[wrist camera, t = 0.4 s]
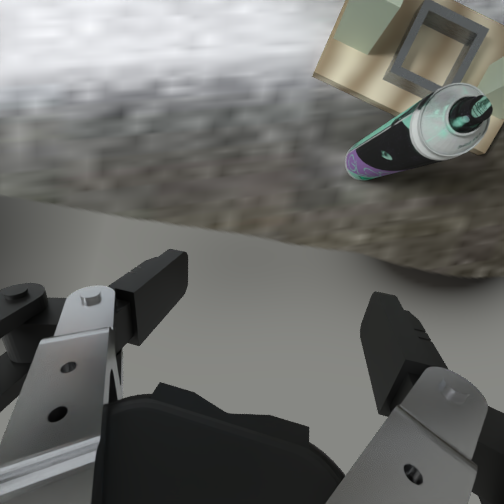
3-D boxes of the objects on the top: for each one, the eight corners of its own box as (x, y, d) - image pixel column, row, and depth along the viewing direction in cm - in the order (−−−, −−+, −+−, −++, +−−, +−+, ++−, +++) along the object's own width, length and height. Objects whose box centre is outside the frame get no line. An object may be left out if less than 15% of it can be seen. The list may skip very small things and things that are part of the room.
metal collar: (382, 79, 34) (389, 71, 32) (416, 10, 32) (426, -3, 30) (439, 106, 34) (450, 100, 32) (475, 39, 32) (489, 29, 30)
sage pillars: (333, 38, 33) (355, -15, 25) (351, -3, 32) (380, -72, 24) (500, 119, 34) (573, 93, 26) (523, 81, 33) (605, 42, 25)
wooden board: (312, 76, 35) (314, 71, 34) (361, -35, 32) (364, -44, 31) (477, 155, 36) (485, 153, 35) (537, 53, 33) (547, 47, 32)
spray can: (339, 174, 37) (426, 137, 17) (352, 136, 36) (461, 51, 16) (374, 185, 37) (501, 161, 17) (389, 147, 36) (540, 77, 16)
